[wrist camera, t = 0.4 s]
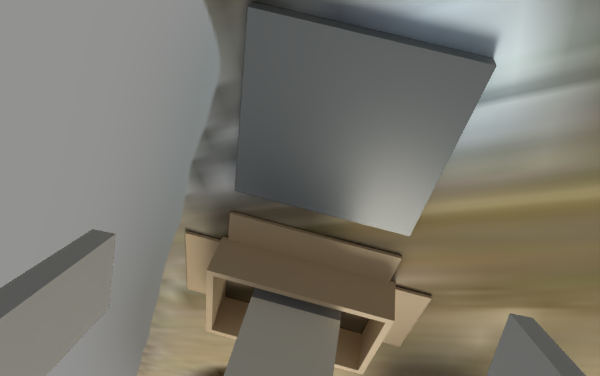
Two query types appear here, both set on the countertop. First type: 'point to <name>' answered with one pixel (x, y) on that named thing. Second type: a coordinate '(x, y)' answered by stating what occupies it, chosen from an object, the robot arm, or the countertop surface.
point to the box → (285, 338)
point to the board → (349, 116)
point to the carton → (304, 282)
